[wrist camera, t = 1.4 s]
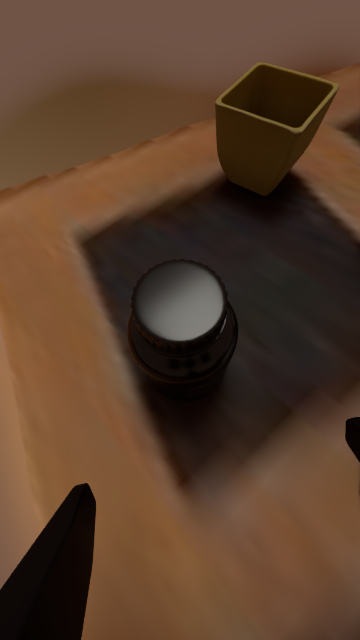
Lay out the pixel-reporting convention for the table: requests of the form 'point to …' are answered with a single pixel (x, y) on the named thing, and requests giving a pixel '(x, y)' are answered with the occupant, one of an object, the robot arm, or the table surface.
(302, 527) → the table surface
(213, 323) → the supplement bottle
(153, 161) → the table surface
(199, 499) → the table surface
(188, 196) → the table surface
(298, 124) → the flower pot
